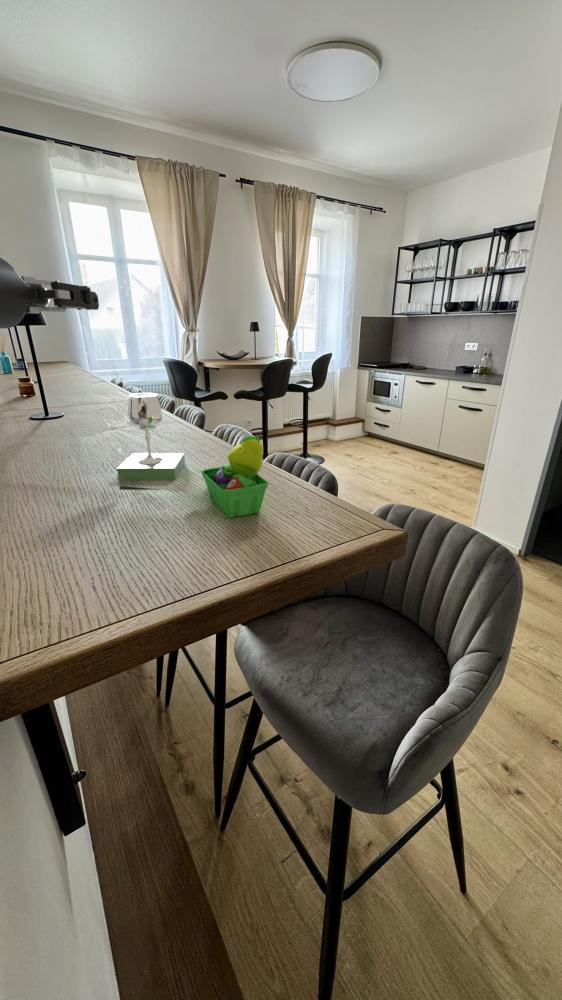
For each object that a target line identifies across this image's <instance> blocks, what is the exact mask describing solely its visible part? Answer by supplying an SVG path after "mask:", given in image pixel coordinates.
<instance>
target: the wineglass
mask: <svg viewBox="0 0 562 1000" xmlns="http://www.w3.org/2000/svg"><path fill="white" fill-rule="evenodd" d="M127 416H128V421H129V423H130V424H131V426H132V427H133V428H136V429H137V430H139V431H141V432H145V433H144V439H145V441H146V445H147V453H148V455H147V457H146V458H142V459H139V460H138V463H140V464H156V463H160V462H162V461H163V459H162V458H159V457H154V456H152V454H151V453H152V451H151V450H152V449H151V440H152V435H151V433H150V432H151V431H153V430H155V429H158V428H159V427H160V425H161V424H162V422H163V409H162V405H161V402H160V399H159V396H158V394H157V393H153V392H137V393H131V394H129V395H128V402H127Z"/></svg>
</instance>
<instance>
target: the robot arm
mask: <svg viewBox="0 0 562 1000" xmlns="http://www.w3.org/2000/svg"><path fill="white" fill-rule="evenodd" d="M46 287H50V289H47V288H46ZM51 300H53V305H54V306H50V304H51ZM99 301H100V300H99V295H98V294H97V293H96V292H95V291H92V289H91V287H90V286H88V285H78V284H71V283H65V282H60V281H59V280H44V279H36V278H35V277H33V276H26V275H25V276H24V275H20V274H19V272H18V271H17V270H16V269H15V267H14V266H12V264H10V263H9V262H8V261H7V260H5V259H4V258H2V257H0V329H4V330H5V329H11V328H14V327H16V326H17V325H18V324H20V323H21V322H22V320H23V318H24V317H25V315H26V314H37V315H38V314H41V313H43V312H44V313H64V312H66V311H67V309H70V310H77V311H82V310H86V311H98V310H99V309H100V308H99V307H100V302H99Z"/></svg>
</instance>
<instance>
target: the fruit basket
mask: <svg viewBox="0 0 562 1000" xmlns="http://www.w3.org/2000/svg"><path fill="white" fill-rule="evenodd" d="M263 454H264V445H262V443H261V438H260V437H256V436H255V435H246V436H245V437H244V438H243V439H242V441H241V443H239V444H238V445H236V446H235V447H233V448H232V449H230V451H229V452H228V454H227V460H228V463H229V464H224V465H222V466H221V467H211V468H206V469H202V470H201V471H200V472H201V476H202V478H203V479H204V482H205V485H206V488H207V490H208V492H209V497H210V500H211V501H212V502H213V503H214V504H215V505H216V506H217V508H219V509H220V510H221V511H222V512H223V513H224V514H225V515H226V516H227V518H229V519H232V518H235V517H242V516H243V517H244V516H248V515H252V514H260V512H261V508H262V505H263V501H264V496H265V493H266V491H267V489H268V486H269V482H268V480H266V479H264V478H263V477H262V476H260V475H259V474H258V473H259V472H260V470H261V469H262V465H263Z"/></svg>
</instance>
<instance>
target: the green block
mask: <svg viewBox="0 0 562 1000" xmlns="http://www.w3.org/2000/svg"><path fill="white" fill-rule="evenodd" d="M151 454H152V456H154V457H159V458H162V459H163V461H162V462H160V463H156V464H140V463H138V460H139V459H142V458H146V457H147V455H148V452H144V453H143V452H141V453H140V452H139V453H138V452H134V453H132V454H130V456H129V457H127V458H126V459H125V460H124V461H123V462H122V463H121V464H120V465H119V466H117V468H116V472H117V478H118V481H176V480H177V479H178V477H179V475H180V473H181V472H182V470H183V468H184V466H185V465H186V462H185V461H186V459H185V453H184V452H183V453H181V452H177V453H176V452H172V453H171V452H170V453H169V452H164V453H161V452H159V453H158V452H156V453H155V452H154V453H153V452H151ZM119 490H120V491H140V490H141V491H143V490H144V491H145V490H149V491H150V490H151V491H152V490H160V489H158V488H149V487H139V486H138V487H136V486H127V485H126V486H125V485H119Z"/></svg>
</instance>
